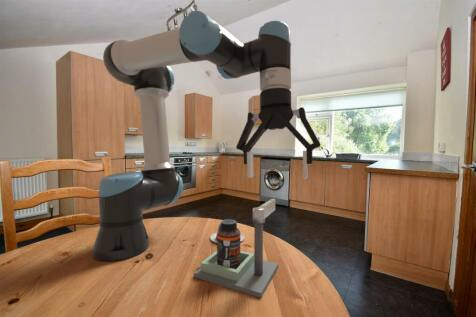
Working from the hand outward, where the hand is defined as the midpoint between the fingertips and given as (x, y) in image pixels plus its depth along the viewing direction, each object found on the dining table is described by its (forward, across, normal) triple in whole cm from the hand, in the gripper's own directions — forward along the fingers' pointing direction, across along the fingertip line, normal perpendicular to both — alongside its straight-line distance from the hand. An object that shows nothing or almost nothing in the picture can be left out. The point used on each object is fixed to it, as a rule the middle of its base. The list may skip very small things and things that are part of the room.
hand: (276, 178), depth 53 cm
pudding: (+24, -21, +15) cm, 35 cm away
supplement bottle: (+22, -12, -3) cm, 26 cm away
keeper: (+10, -3, +2) cm, 11 cm away
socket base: (+23, -9, -4) cm, 25 cm away
